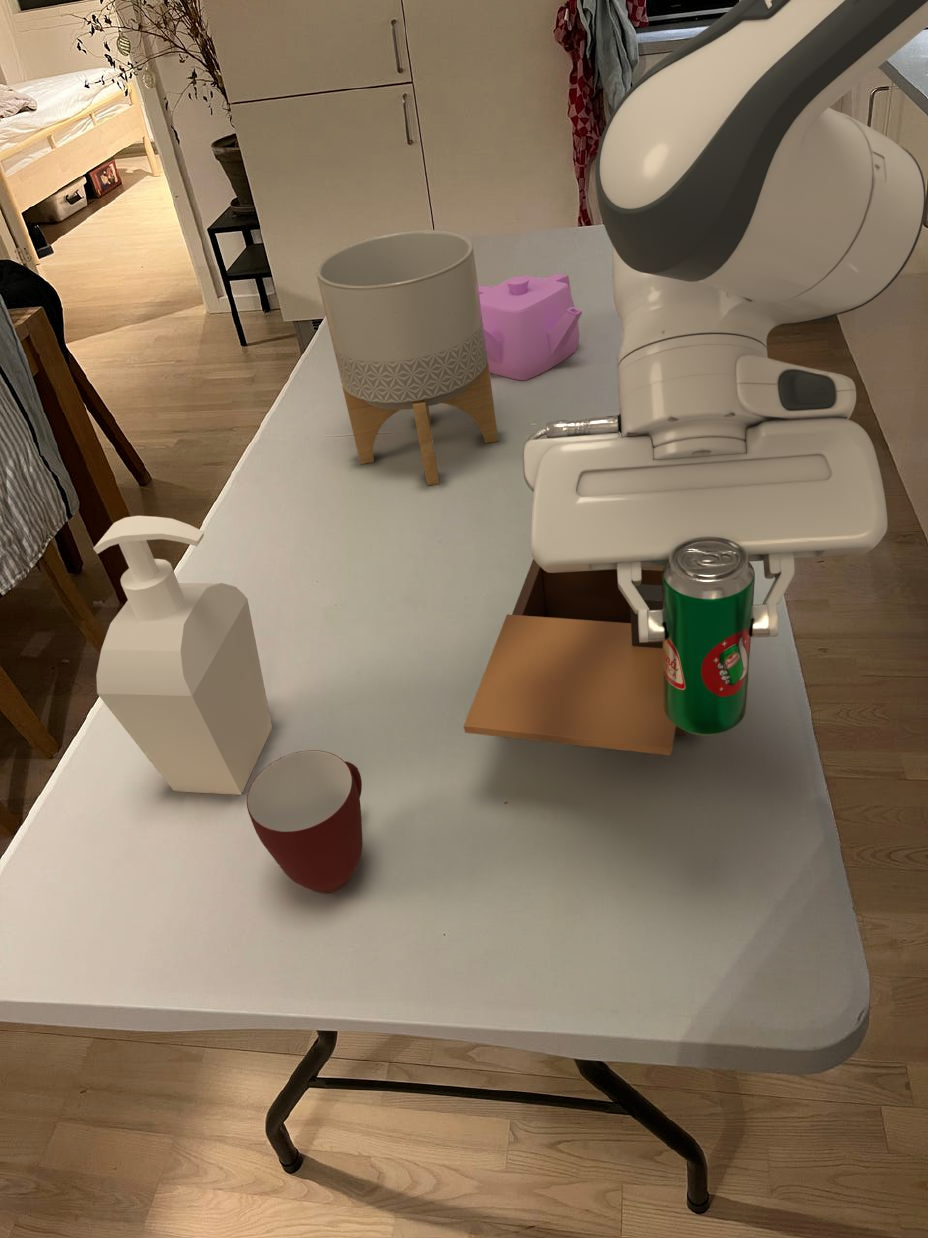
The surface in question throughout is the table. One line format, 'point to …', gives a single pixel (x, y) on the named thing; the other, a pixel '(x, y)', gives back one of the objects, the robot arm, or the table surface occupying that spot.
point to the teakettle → (528, 325)
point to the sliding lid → (576, 684)
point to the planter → (408, 333)
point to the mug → (310, 817)
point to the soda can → (707, 634)
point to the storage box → (579, 596)
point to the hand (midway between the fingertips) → (708, 639)
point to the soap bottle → (183, 666)
